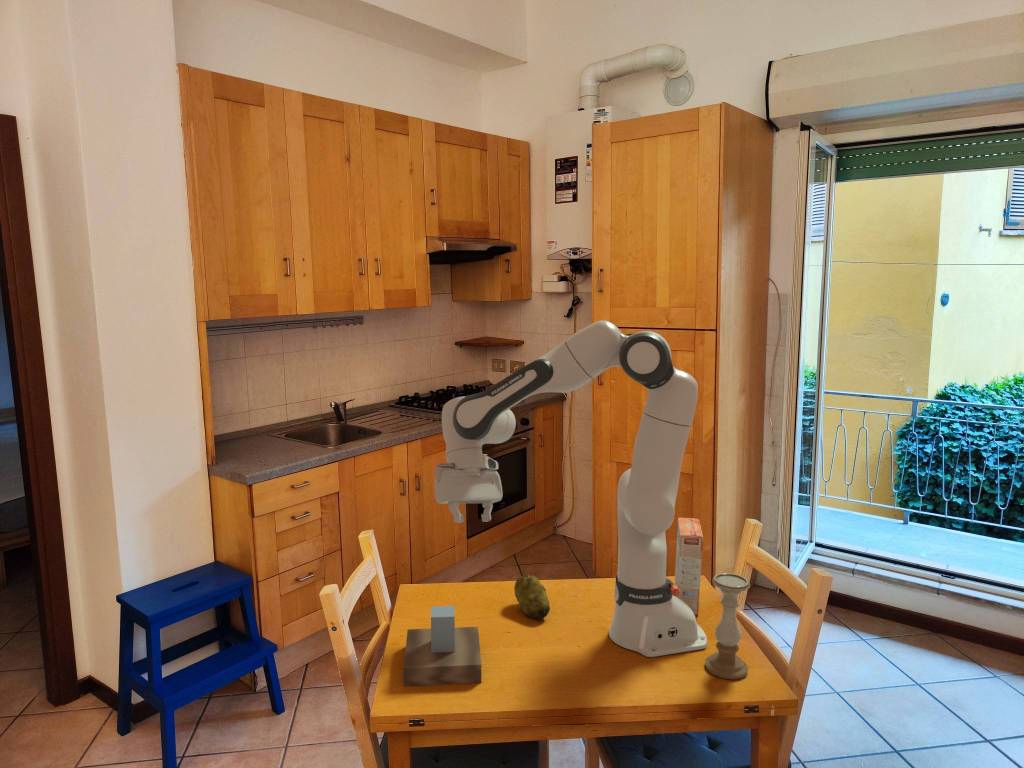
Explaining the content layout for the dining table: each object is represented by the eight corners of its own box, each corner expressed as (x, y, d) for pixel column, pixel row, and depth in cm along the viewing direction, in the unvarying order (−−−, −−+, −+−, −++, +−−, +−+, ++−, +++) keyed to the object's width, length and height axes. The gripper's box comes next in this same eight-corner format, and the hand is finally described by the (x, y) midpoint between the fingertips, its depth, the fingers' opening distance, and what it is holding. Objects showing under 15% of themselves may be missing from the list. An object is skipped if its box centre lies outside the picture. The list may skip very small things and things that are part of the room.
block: (454, 639, 153) (454, 605, 152) (454, 651, 148) (454, 616, 147) (431, 640, 153) (431, 606, 152) (431, 652, 148) (430, 617, 147)
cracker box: (699, 616, 173) (703, 536, 170) (675, 614, 175) (678, 534, 172) (696, 592, 187) (700, 517, 184) (673, 590, 188) (676, 516, 185)
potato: (516, 623, 169) (517, 592, 168) (513, 599, 182) (513, 570, 181) (550, 622, 170) (551, 591, 169) (544, 598, 183) (545, 570, 181)
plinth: (477, 643, 160) (477, 626, 159) (481, 682, 144) (481, 664, 144) (407, 645, 158) (407, 629, 158) (403, 686, 143) (403, 668, 142)
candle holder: (743, 659, 154) (748, 572, 151) (751, 682, 145) (756, 590, 142) (702, 656, 155) (707, 570, 152) (707, 678, 146) (712, 587, 143)
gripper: (443, 459, 157) (451, 520, 153) (502, 462, 173) (511, 518, 169) (424, 465, 161) (432, 525, 157) (483, 468, 176) (491, 523, 172)
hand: (473, 521), depth 163 cm, fingers open, 8 cm apart
